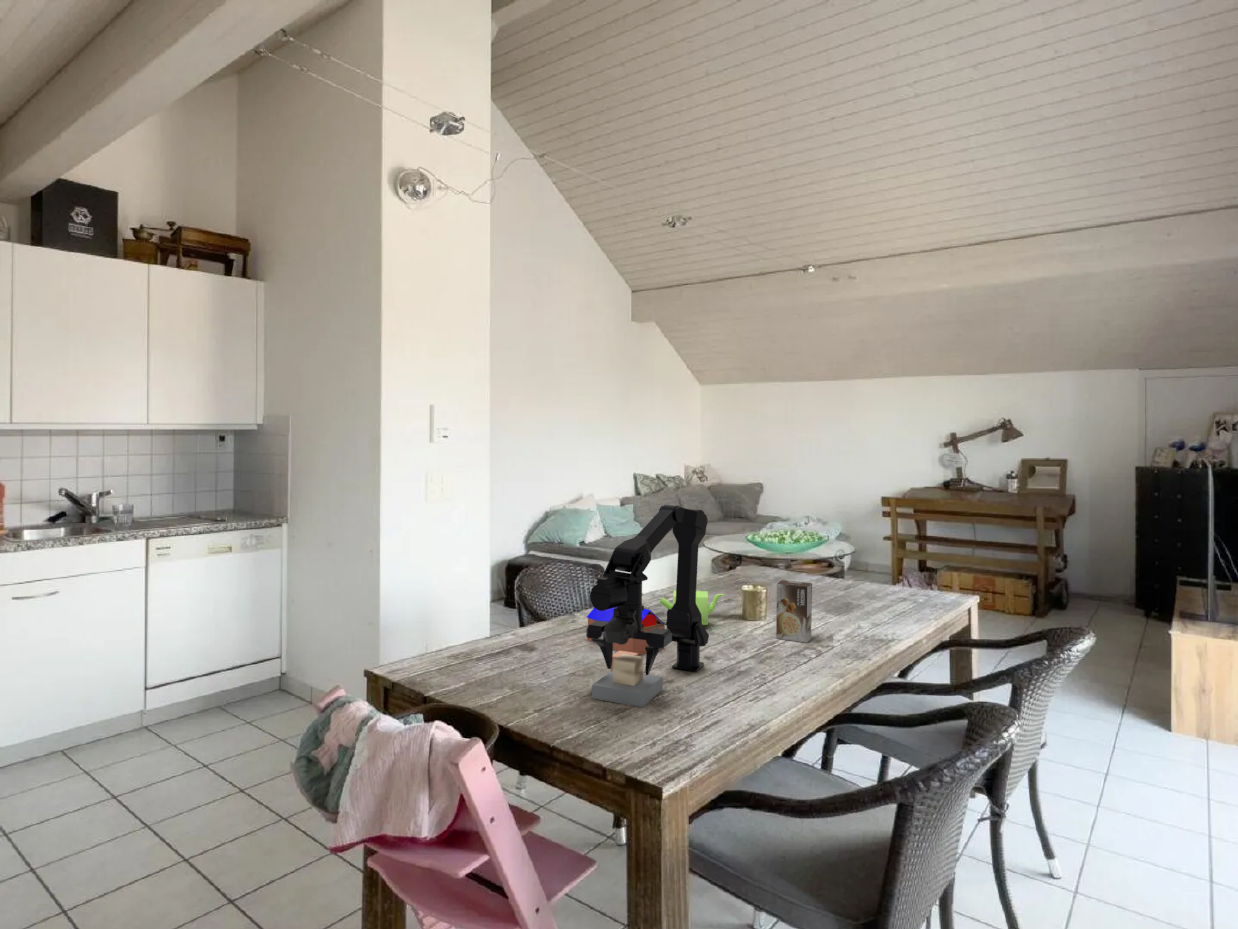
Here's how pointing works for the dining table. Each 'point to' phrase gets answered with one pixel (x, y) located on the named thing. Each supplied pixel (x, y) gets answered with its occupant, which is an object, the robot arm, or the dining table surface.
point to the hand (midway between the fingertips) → (628, 671)
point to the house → (632, 644)
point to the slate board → (627, 690)
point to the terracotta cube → (621, 654)
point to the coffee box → (794, 611)
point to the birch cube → (628, 669)
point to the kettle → (700, 602)
